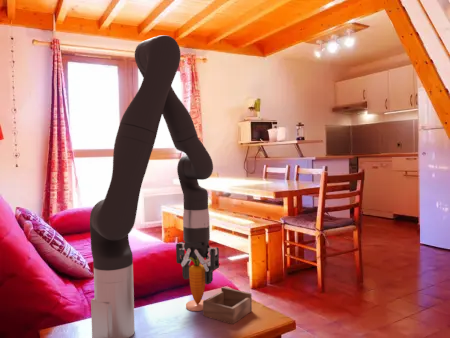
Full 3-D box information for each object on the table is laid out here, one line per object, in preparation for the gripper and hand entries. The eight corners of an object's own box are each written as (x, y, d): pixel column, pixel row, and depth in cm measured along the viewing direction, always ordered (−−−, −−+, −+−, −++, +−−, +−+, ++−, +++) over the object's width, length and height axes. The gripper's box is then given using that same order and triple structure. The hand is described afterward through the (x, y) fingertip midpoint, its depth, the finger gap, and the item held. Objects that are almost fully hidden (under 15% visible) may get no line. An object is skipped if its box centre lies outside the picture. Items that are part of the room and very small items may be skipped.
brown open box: (233, 324, 97) (232, 305, 97) (203, 315, 102) (203, 297, 102) (251, 310, 105) (251, 293, 105) (223, 303, 110) (222, 286, 110)
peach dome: (200, 313, 104) (200, 311, 104) (180, 307, 108) (180, 305, 108) (214, 304, 110) (214, 302, 110) (196, 299, 114) (196, 297, 114)
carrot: (203, 308, 106) (203, 255, 105) (186, 306, 107) (186, 254, 106) (208, 301, 111) (207, 250, 110) (191, 300, 112) (191, 250, 111)
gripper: (168, 224, 109) (170, 280, 109) (208, 229, 101) (209, 289, 101) (185, 220, 115) (186, 273, 116) (224, 224, 107) (225, 281, 108)
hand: (197, 280), depth 108 cm, fingers open, 7 cm apart
